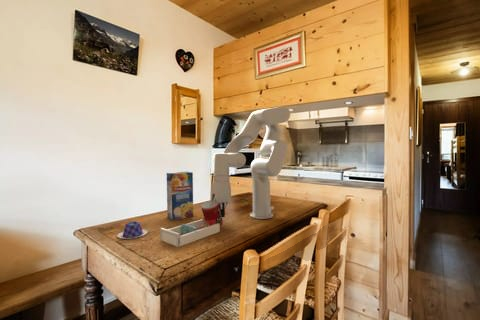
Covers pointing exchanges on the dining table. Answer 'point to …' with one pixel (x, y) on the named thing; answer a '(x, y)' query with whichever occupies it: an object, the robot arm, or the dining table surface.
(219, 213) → the canned food
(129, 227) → the blue checkered hat
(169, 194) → the blue food box
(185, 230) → the pusher
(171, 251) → the dining table surface
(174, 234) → the white shallow tray
